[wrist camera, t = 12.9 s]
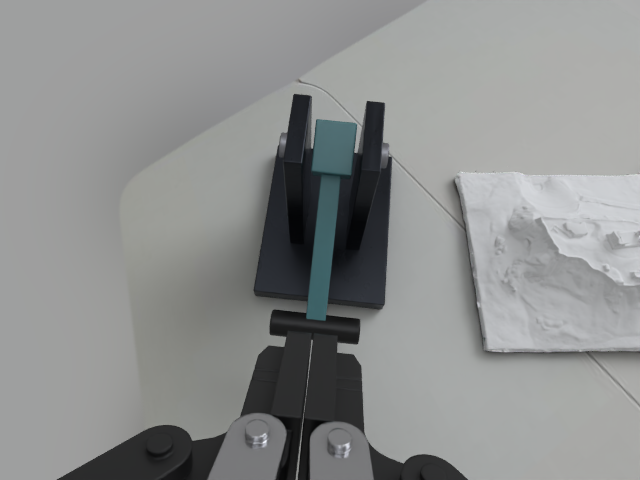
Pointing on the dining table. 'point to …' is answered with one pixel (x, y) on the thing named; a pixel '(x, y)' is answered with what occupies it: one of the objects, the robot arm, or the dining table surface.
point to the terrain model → (554, 260)
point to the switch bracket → (351, 224)
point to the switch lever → (324, 236)
